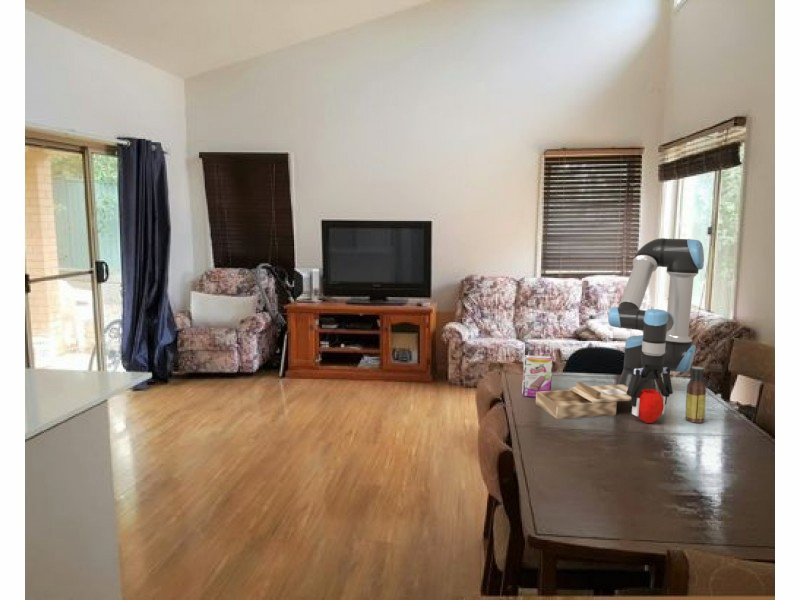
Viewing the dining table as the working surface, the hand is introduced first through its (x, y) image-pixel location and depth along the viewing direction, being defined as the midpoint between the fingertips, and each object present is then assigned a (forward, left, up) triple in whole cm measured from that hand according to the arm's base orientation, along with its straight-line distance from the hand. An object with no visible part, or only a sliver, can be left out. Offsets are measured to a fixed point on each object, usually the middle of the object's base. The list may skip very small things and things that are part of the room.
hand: (647, 414), depth 206 cm
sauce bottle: (-18, +2, -3) cm, 18 cm away
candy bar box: (+26, -35, -3) cm, 44 cm away
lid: (+5, -17, +2) cm, 18 cm away
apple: (0, 0, -3) cm, 3 cm away
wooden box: (+19, -17, -3) cm, 26 cm away
